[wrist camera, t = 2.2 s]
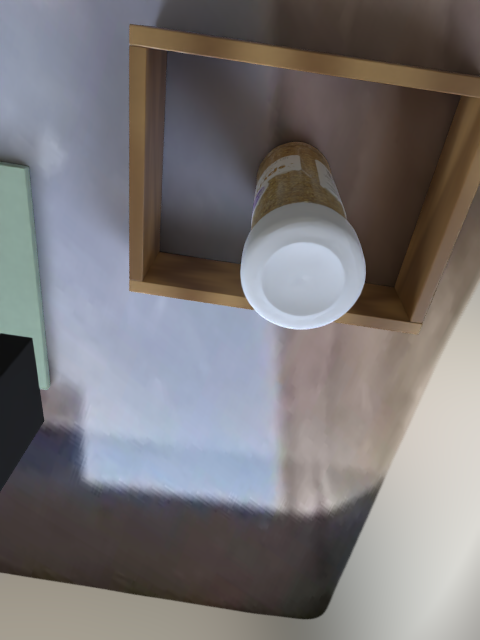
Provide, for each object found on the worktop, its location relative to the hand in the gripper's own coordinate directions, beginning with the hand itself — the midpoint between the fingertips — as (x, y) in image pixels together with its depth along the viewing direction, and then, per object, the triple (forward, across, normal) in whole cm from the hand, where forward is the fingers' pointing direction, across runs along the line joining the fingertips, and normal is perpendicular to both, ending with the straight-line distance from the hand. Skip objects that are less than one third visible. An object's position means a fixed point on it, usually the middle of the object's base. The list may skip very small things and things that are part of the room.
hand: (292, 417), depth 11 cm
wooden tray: (+20, 0, +1) cm, 20 cm away
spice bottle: (+20, 0, +1) cm, 20 cm away
